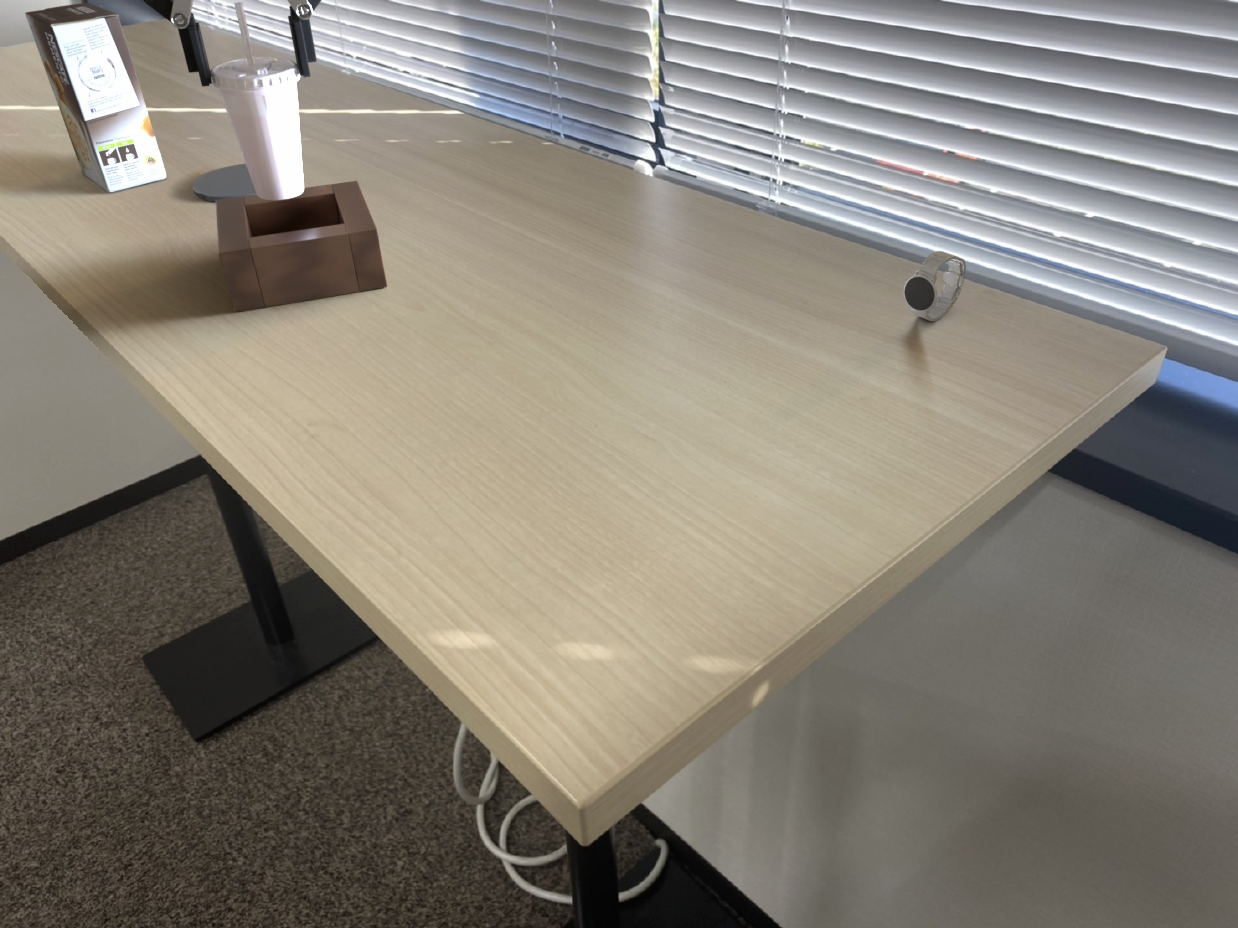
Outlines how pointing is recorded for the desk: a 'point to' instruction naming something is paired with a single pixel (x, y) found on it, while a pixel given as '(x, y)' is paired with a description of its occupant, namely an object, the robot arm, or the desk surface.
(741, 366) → the desk surface
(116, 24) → the coffee box
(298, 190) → the smoothie
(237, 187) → the coaster
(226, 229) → the stand
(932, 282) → the wristwatch
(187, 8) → the robot arm
